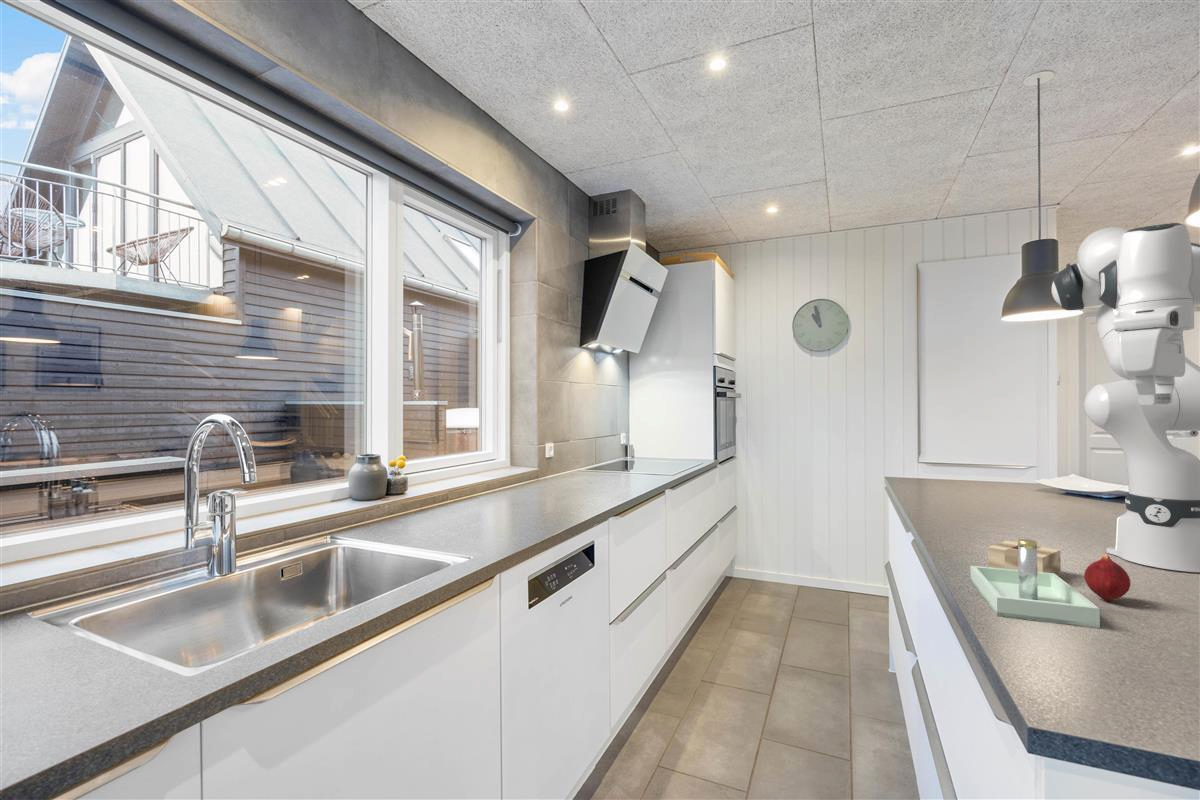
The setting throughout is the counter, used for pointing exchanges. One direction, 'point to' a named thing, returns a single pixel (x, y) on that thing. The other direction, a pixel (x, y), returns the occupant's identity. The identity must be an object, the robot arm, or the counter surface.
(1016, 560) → the hitch block
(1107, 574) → the onion
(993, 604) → the tray
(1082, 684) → the counter surface
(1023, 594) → the steel pin
